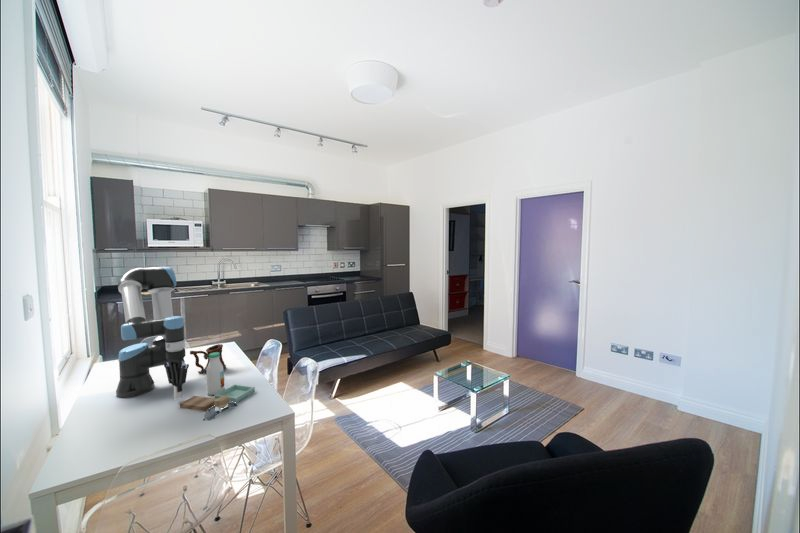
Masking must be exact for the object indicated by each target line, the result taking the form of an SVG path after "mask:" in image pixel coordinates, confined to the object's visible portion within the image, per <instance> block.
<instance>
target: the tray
mask: <svg viewBox="0 0 800 533" xmlns="http://www.w3.org/2000/svg"><path fill="white" fill-rule="evenodd" d="M255 390H256V388H255V386H248V385H241V384H232V385H231V386H229V387H227V388H226V389H224V390H223V391H222V392H220V393H218V394H216V395H214V398H217V399H218V398H220V397H222V396H229V401H233V402H236V404H238V403H239V402H241V401H243V400H245V399H246V398H248V397H249V396H251V395H253V394H254V393H255V392H256V391H255Z"/></svg>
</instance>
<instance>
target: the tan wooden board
mask: <svg viewBox="0 0 800 533" xmlns="http://www.w3.org/2000/svg"><path fill="white" fill-rule="evenodd" d="M216 399H217V398H215V397H207V396H201V395H200V396H199V395H192V396H191V397H189V398H187V399H186V400H184V401H182V402H180V403H179V404H178V405H179V409H183V410H184V409H185V410H191V411H198V412H207V411H208V410H210V409H212V408H213V407H215V406H214V405H215V404H214V401H215V400H216ZM212 406H213V407H212ZM211 407H212V408H211ZM209 408H210V409H209Z"/></svg>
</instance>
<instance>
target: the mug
mask: <svg viewBox="0 0 800 533" xmlns="http://www.w3.org/2000/svg"><path fill="white" fill-rule="evenodd" d="M223 346H224V344H221V343H220V344H214V345H212V346H210V347H208V348H206V349H205V350H190V351H189V355H193V357H194V358H195V361H194V362H195V363H194V364H195V366H196V368H200V371H197V373H198V374H203V373H205V374H206V371H207V367H208V364H209V362H210V359H209V354H211V353H214V352H219V353H220V357H219V359H220V362H221V363H222V365H223V369H224V371H225V370H226V367H227V365H226V364H225V361H224V359H223V354H222V353H223ZM198 354H202V355H203V356H202V357H203V359H204V360H205V361H206V360H207V363H206V365H205V366H203V365H202V364H200V358H199V356H198Z"/></svg>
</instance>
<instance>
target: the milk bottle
mask: <svg viewBox="0 0 800 533" xmlns="http://www.w3.org/2000/svg"><path fill="white" fill-rule="evenodd" d="M219 357H220V353H219V352H214V353H211V354H209V359H210V362H209V364H208V367H207V371H206V373H205V374H206V375H205V376H206V377H205V378H206V393H207V395H209V396H215V395H216V394H218V393H220V392H222V391H223V390H225V370H224V369H223V365H222V363H221V362H220V359H219Z"/></svg>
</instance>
